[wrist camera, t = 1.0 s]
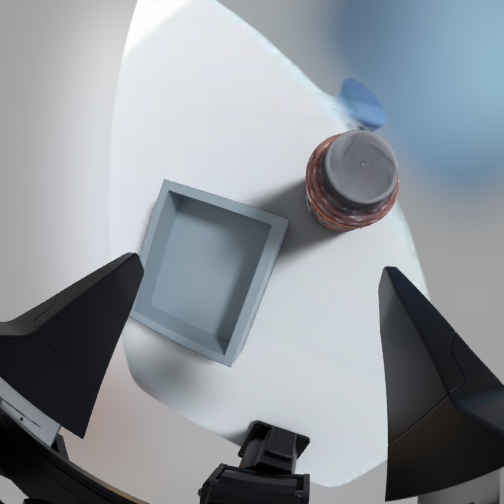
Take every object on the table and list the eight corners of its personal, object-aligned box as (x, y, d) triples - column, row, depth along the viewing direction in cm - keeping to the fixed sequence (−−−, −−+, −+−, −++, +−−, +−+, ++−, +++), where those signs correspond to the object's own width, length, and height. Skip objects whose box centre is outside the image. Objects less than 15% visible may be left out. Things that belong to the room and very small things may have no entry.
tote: (241, 350, 26) (230, 367, 22) (148, 305, 28) (126, 314, 24) (289, 222, 24) (285, 218, 20) (183, 187, 26) (164, 179, 22)
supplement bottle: (299, 223, 24) (290, 205, 13) (313, 160, 24) (314, 100, 13) (363, 240, 23) (405, 237, 12) (376, 177, 23) (419, 130, 12)
